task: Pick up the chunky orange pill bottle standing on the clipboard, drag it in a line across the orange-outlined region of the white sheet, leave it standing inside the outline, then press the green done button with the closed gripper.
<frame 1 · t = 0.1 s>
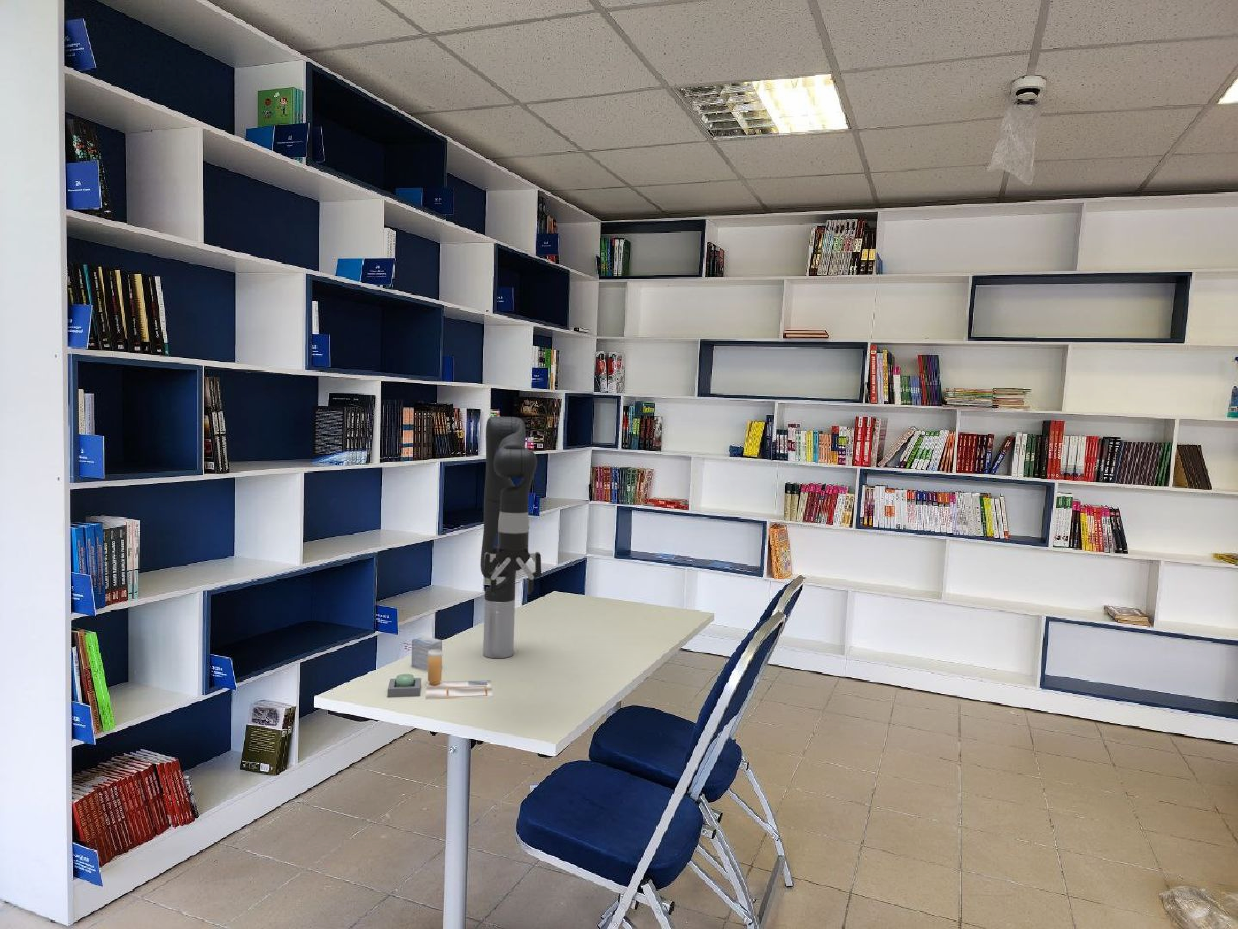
hand: (511, 594, 200), 29 cm above the table, fingers open, 8 cm apart
done button: (404, 681, 210), point 3 cm above the table, slide at 0.0 cm
button housing: (404, 692, 210), on the table
medicine box: (426, 669, 230), on the table
orange pill bottle: (434, 683, 217), resting on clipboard
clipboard: (459, 690, 213), on the table
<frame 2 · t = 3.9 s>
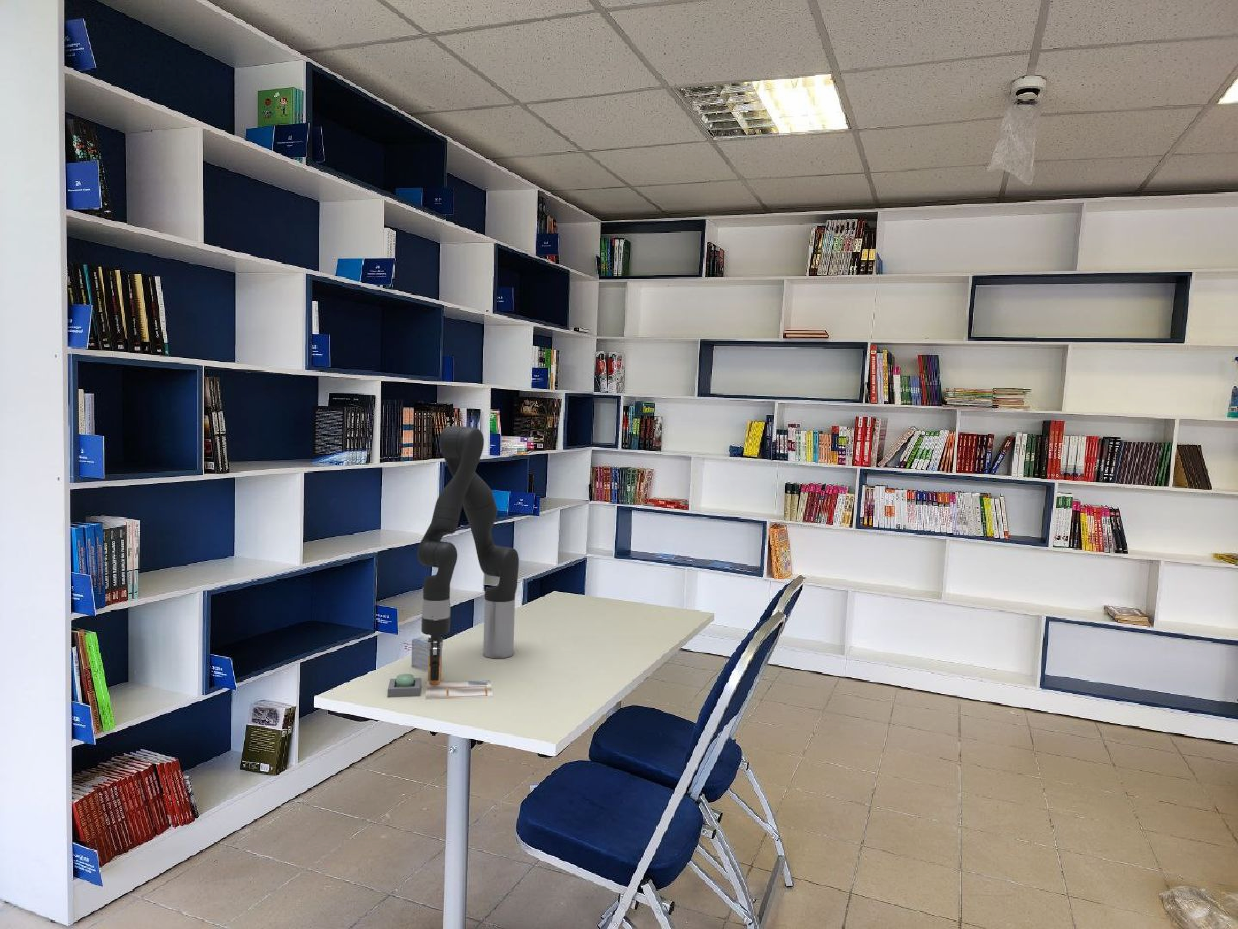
hand: (434, 677, 216), 2 cm above the table, fingers closed on orange pill bottle, 3 cm apart
orange pill bottle: (434, 683, 217), resting on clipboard, touching gripper
everything else where it was.
when the fingers open (2 cm above the table, at t = 9.0 s): orange pill bottle stays where it is, resting on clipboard.
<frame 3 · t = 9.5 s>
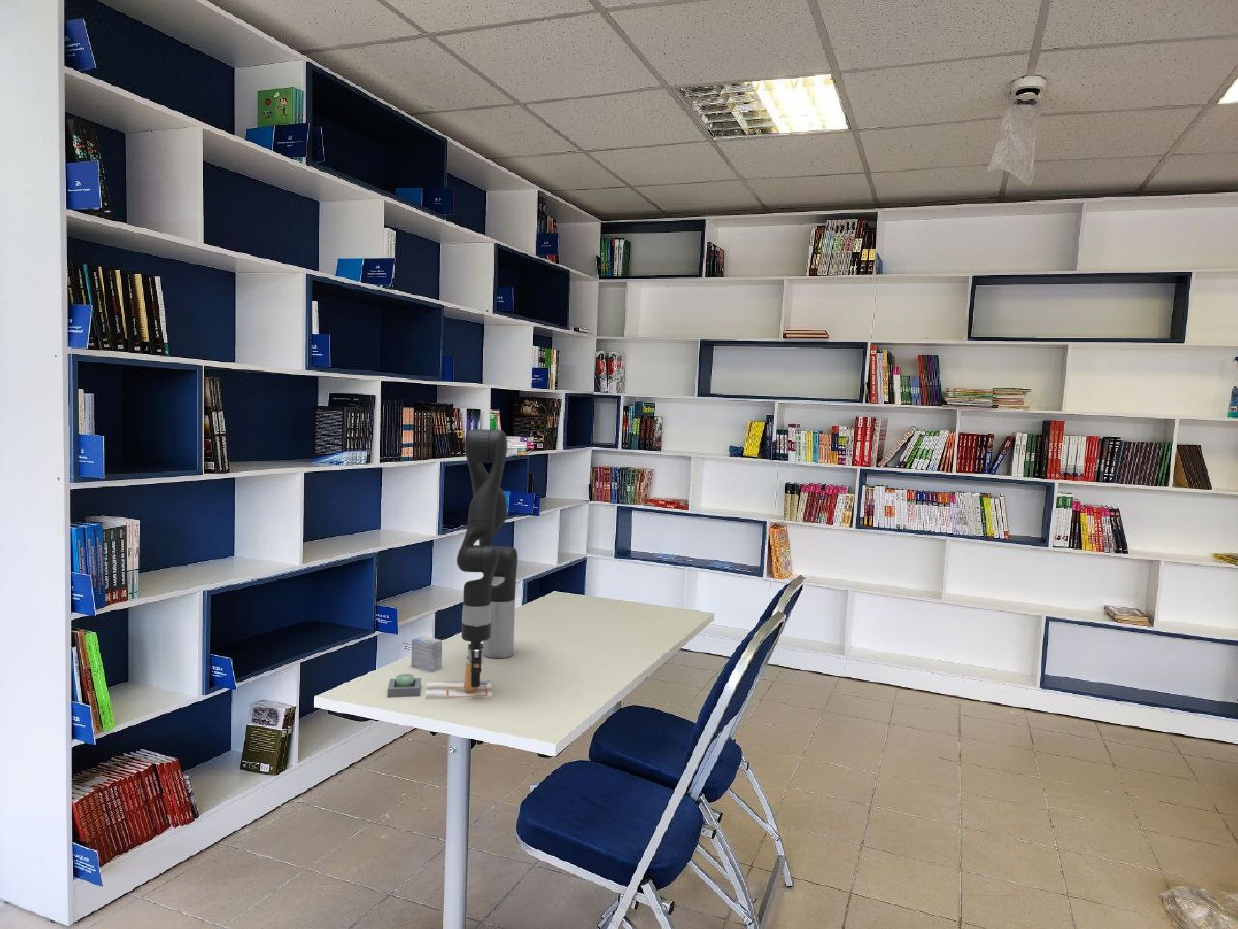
hand: (474, 681, 212), 3 cm above the table, fingers open, 8 cm apart
orange pill bottle: (470, 691, 212), point 1 cm above the table, touching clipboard
everything else where it was.
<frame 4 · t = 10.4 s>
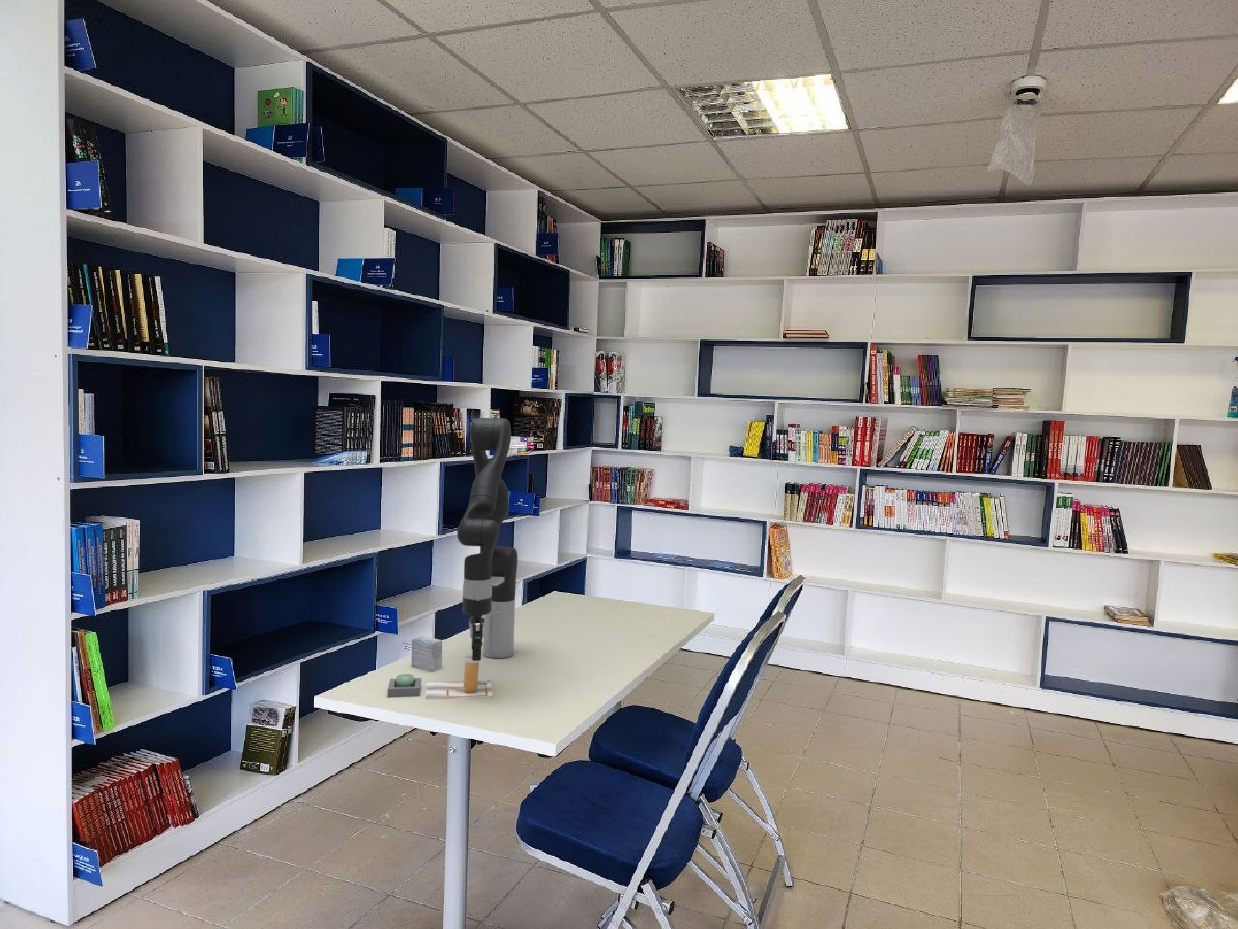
hand: (476, 655, 212), 10 cm above the table, fingers open, 8 cm apart
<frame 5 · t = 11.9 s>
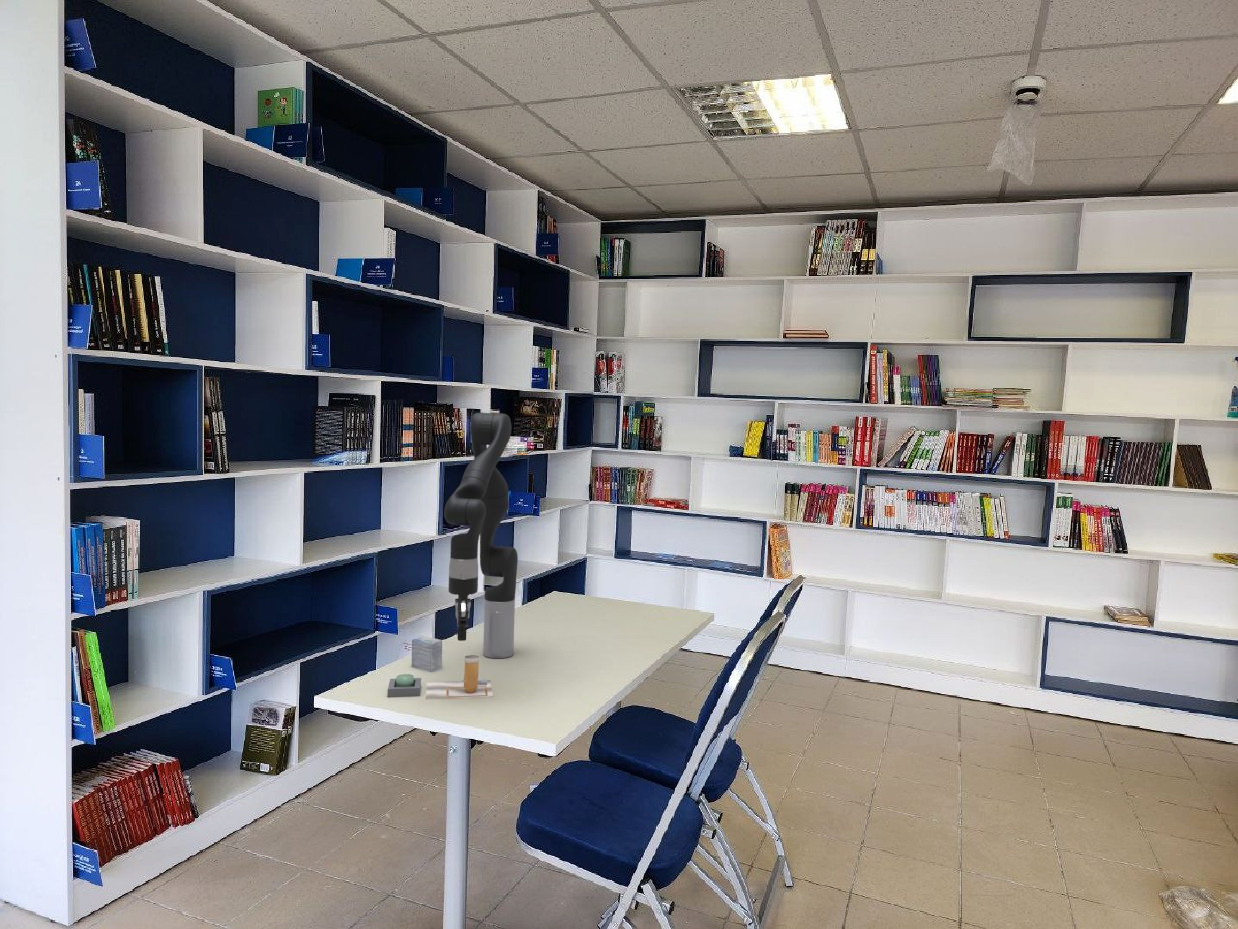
hand: (461, 640, 210), 14 cm above the table, fingers closed
nothing on the table moved.
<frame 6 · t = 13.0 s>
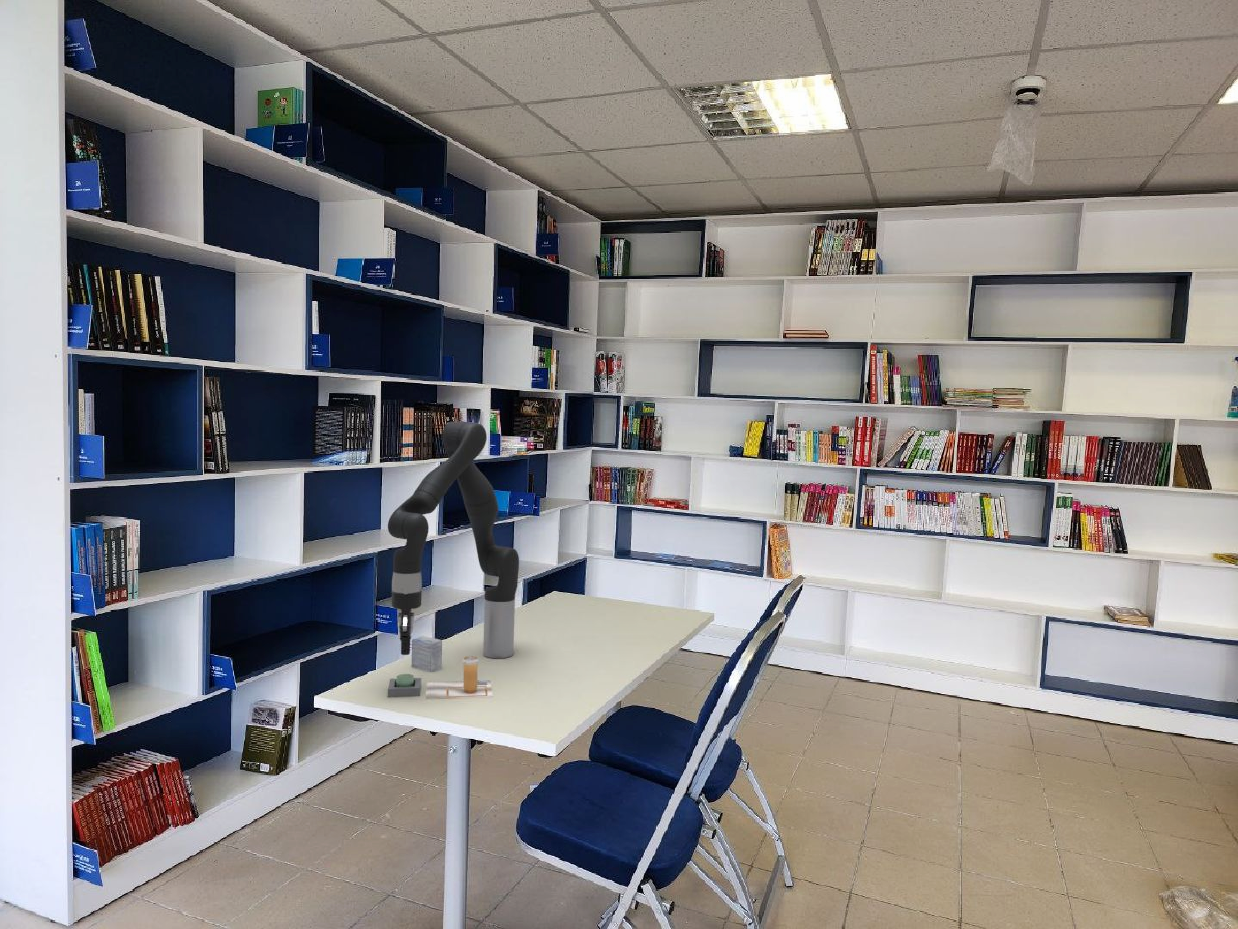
hand: (405, 654, 209), 10 cm above the table, fingers closed
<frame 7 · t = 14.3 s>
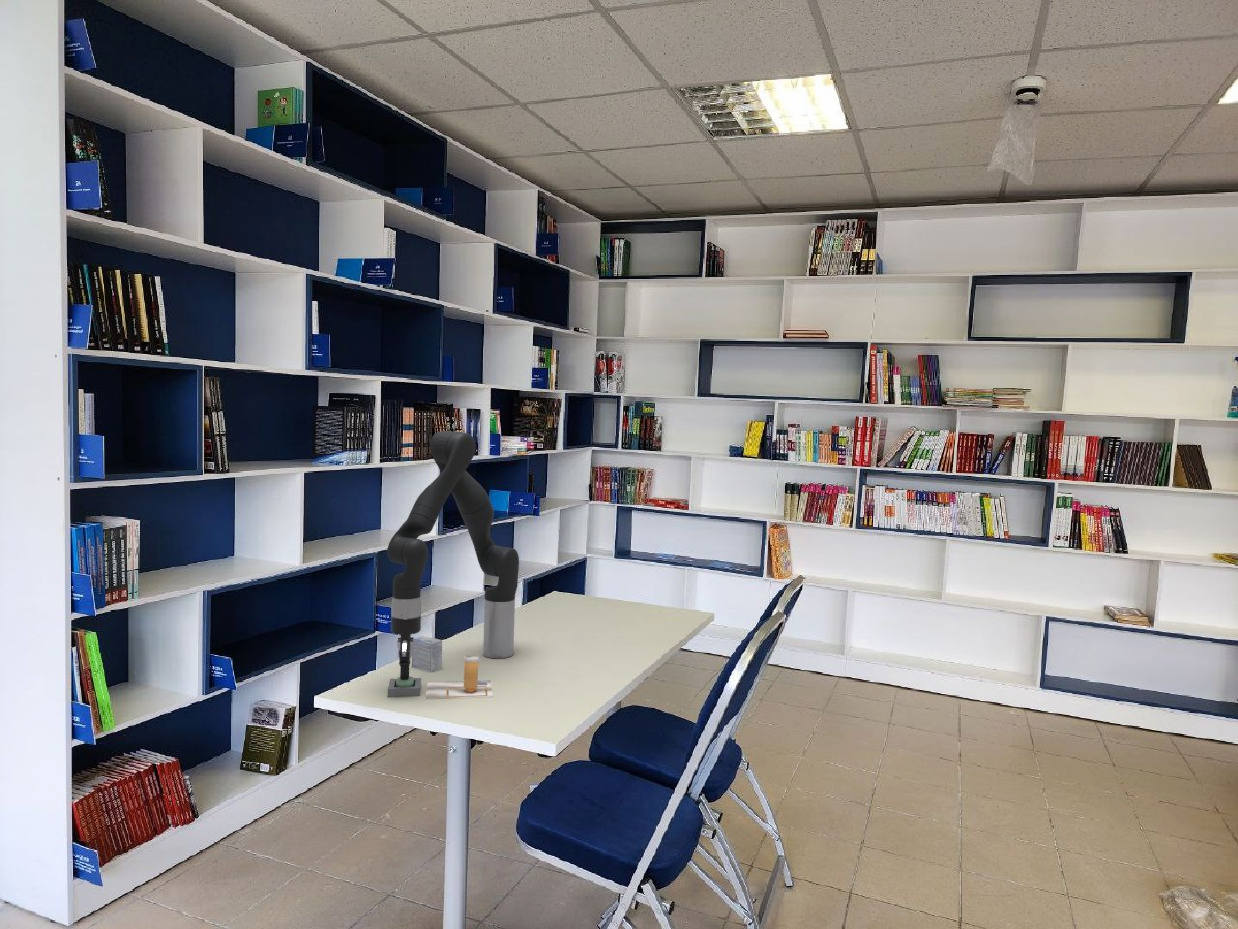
hand: (404, 679, 210), 4 cm above the table, fingers closed
done button: (404, 683, 210), point 2 cm above the table, slide at 0.5 cm, touching gripper
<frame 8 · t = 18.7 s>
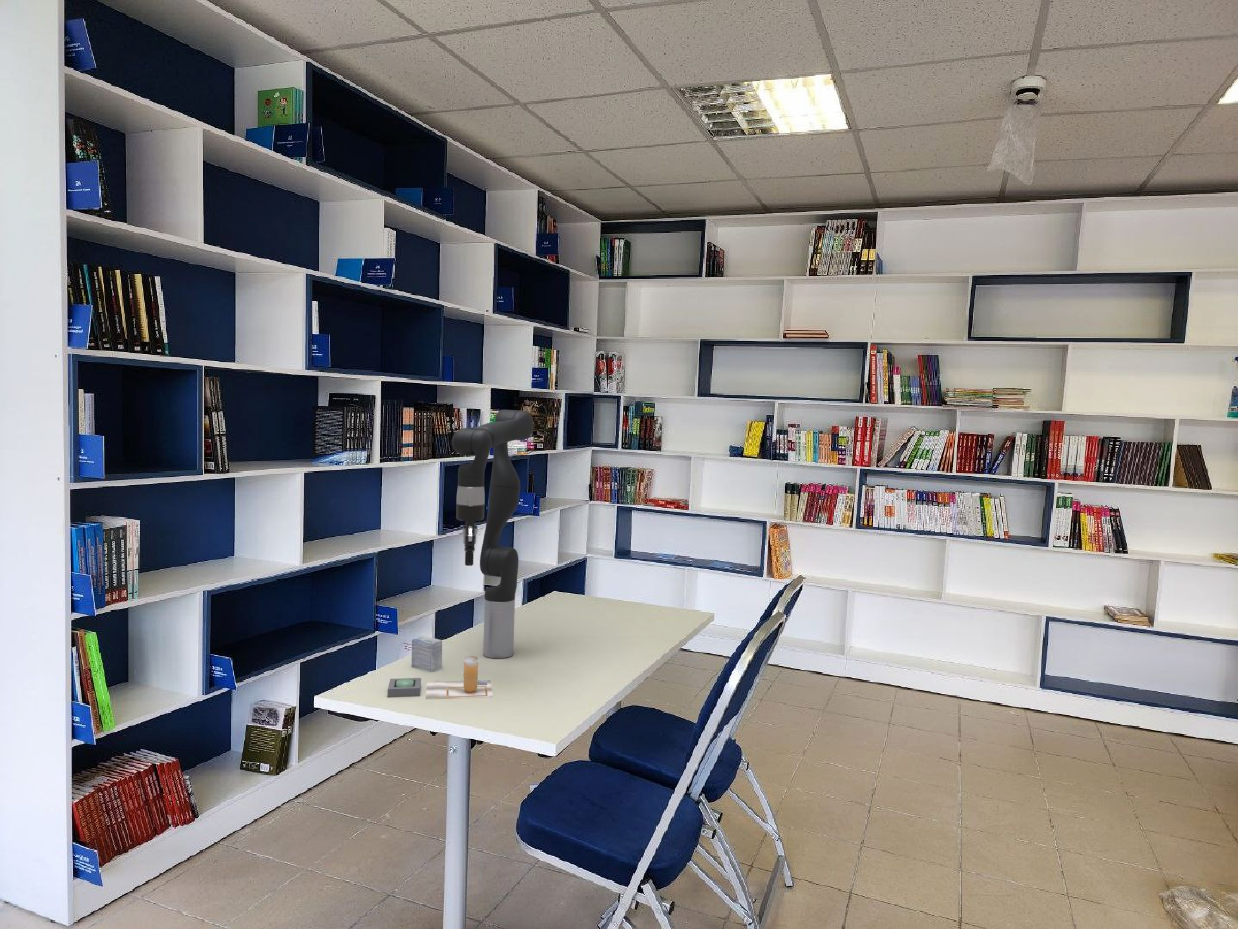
hand: (469, 565, 220), 32 cm above the table, fingers closed
done button: (404, 686, 210), point 2 cm above the table, slide at 1.2 cm
at the end: done button slide at 1.2 cm; orange pill bottle inside the target area on the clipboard (0.9 cm from its centre), point 0.5 cm above the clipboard's base; orange pill bottle tilted 5° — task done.
